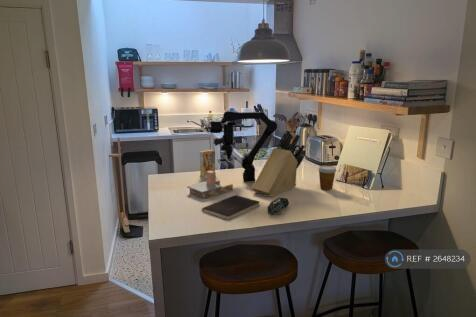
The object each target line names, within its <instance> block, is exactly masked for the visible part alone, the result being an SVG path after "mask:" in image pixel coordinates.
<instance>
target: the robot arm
mask: <svg viewBox="0 0 476 317" xmlns="http://www.w3.org/2000/svg"><path fill="white" fill-rule="evenodd" d="M258 119H259V120H261V121H262V122H263V123H264V127H263V130H262V132H261V134H260V136H259V137H258V139H257V140H256V142H255V143H254V144H253V146H252V147H251V149H250V151H249V152H248V153H243V156H242V157H241V158H240V164H241V167H242V168H243V169H244V170H243V172H242V180H243V182H244V183H245V182H246V183H247V182H249V183H255V182H256V168H255V165H254V164H253V163H254V160H255V157H256V156H257V154H258V153H259V151H260V149H262V147H263V145H264V144H265V142H266V141H267V139H268V138H269V137H270V136H271V135H272V134H273V133H274V132H276V130H277V129H278V124H277V122H276V121H275V120H272V119H270V118H269V117H268V116H267V115H266V114H265V112H264V111H261V110H260V111H243V112H242V111H241V112H239V111H233V110H225V111H224V112H223V115H222V118H221V119H220V121H219V120H216V121H215V120H211V121H210V134H221V132H223V135H222V136H221V137H217V138H214V140H213V144H214V146H218V145H221V146H220V151H225V154H226V158H227V160H230V159H231V158H232V154H233V152H234V149H235V146H236V145H237V142H236V140H235V139H234V138H235V137H234V136H235V134H234V130H235V128H234V126H237V125H238V124H237V122H235V121H238V120H258Z"/></svg>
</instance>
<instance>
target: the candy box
mask: <svg viewBox="0 0 476 317" xmlns="http://www.w3.org/2000/svg"><path fill="white" fill-rule="evenodd" d="M199 164H200V165H199V170H200V171H199V172H200V176H202V177H206V171H214V172H215V173H216V151H215V150H214V149H208V150H201V151H199Z"/></svg>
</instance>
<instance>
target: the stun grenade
mask: <svg viewBox="0 0 476 317" xmlns="http://www.w3.org/2000/svg"><path fill="white" fill-rule="evenodd" d="M289 205H290V201H289V199H288V198H287V197H277V198H276V199H274V200H272V201H270V203H269V205H267V213H268V215H273V214H275V215H278V216H280V215H282V209H284V208H287V207H288V206H289ZM278 212H279V213H278Z"/></svg>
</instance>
